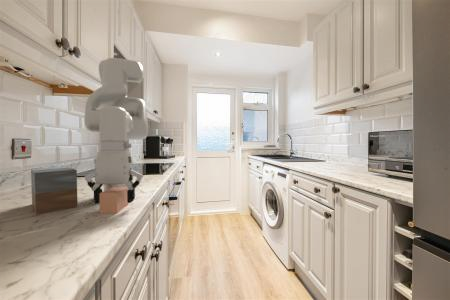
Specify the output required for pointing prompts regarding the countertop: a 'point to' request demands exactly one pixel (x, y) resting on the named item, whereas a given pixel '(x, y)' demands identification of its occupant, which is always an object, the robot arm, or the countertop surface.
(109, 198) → the terracotta brick
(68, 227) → the countertop surface
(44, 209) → the shiny metal block
